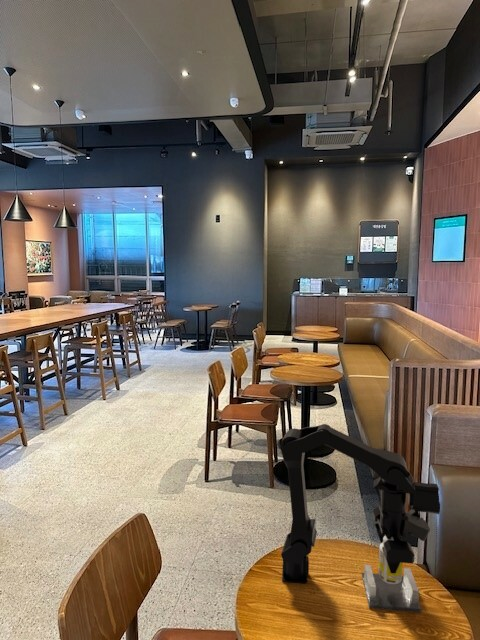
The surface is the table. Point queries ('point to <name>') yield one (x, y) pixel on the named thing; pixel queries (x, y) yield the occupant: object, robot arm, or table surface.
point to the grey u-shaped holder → (391, 592)
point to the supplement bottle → (384, 568)
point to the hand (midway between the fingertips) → (390, 564)
